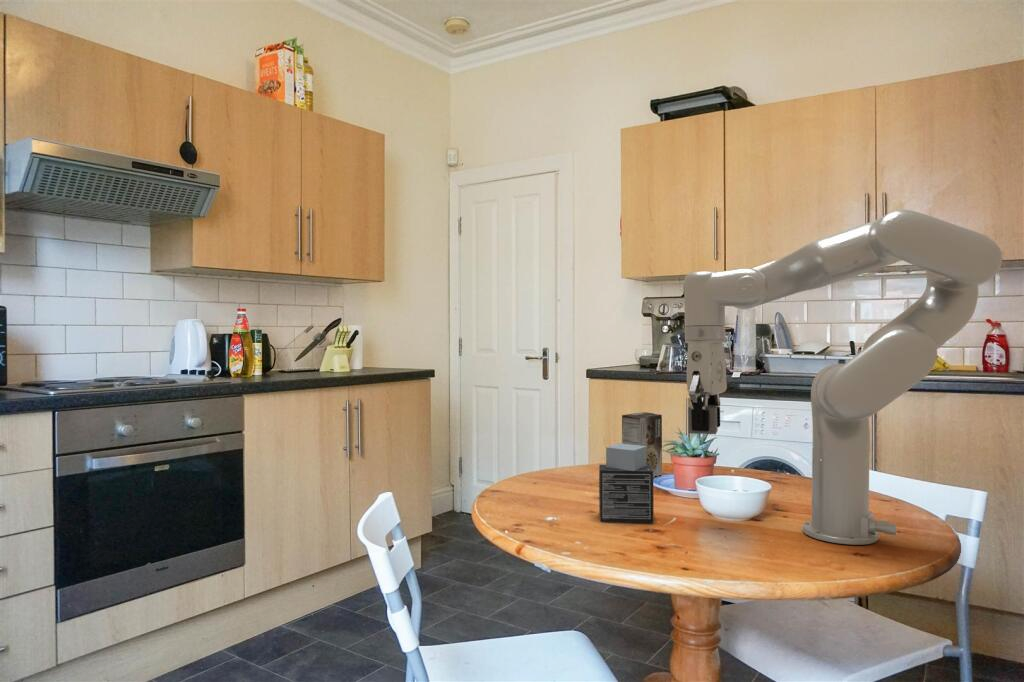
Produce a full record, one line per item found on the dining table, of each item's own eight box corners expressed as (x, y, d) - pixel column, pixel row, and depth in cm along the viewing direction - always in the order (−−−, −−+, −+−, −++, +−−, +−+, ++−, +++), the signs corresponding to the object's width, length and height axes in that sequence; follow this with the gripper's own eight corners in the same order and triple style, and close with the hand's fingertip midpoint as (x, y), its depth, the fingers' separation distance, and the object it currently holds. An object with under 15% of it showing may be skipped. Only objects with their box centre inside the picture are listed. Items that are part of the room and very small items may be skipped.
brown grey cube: (688, 433, 130) (688, 407, 130) (691, 429, 135) (691, 404, 135) (715, 434, 128) (715, 407, 128) (717, 430, 133) (717, 405, 133)
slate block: (646, 466, 136) (646, 446, 136) (634, 471, 131) (634, 450, 131) (618, 462, 139) (619, 443, 139) (606, 467, 135) (606, 447, 134)
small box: (650, 515, 138) (651, 464, 138) (654, 524, 132) (654, 470, 132) (598, 513, 139) (599, 462, 139) (599, 522, 133) (599, 469, 133)
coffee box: (643, 472, 181) (643, 411, 181) (662, 476, 176) (663, 414, 176) (620, 476, 175) (620, 414, 175) (639, 480, 170) (640, 416, 170)
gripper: (709, 335, 122) (710, 435, 122) (737, 334, 136) (739, 424, 136) (669, 336, 126) (670, 433, 126) (701, 335, 140) (702, 422, 140)
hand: (706, 427), depth 131 cm, fingers closed on brown grey cube, 5 cm apart
